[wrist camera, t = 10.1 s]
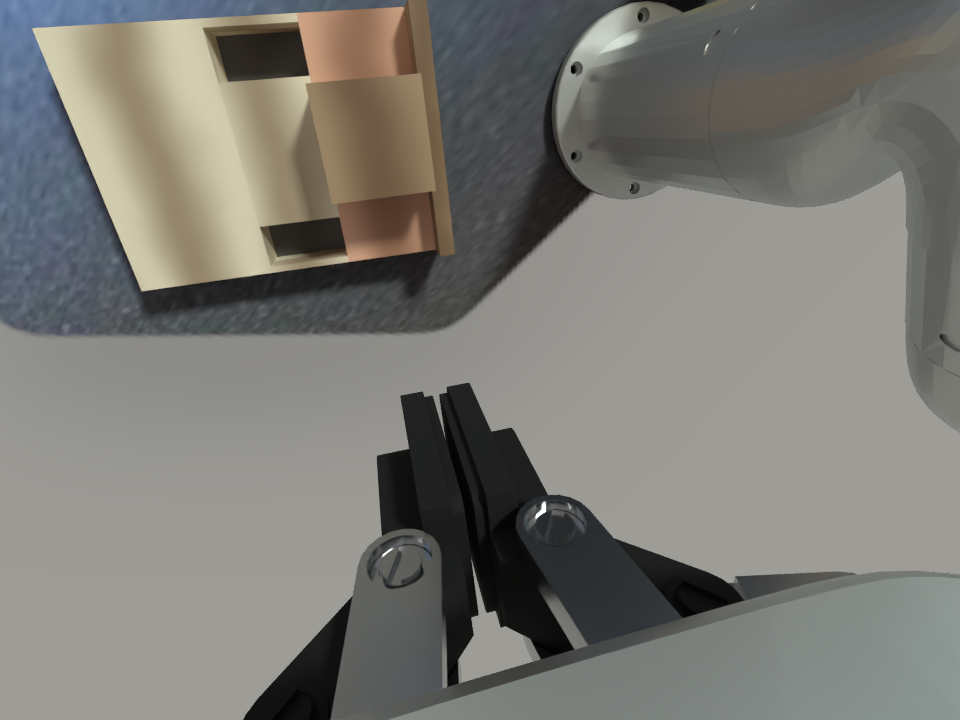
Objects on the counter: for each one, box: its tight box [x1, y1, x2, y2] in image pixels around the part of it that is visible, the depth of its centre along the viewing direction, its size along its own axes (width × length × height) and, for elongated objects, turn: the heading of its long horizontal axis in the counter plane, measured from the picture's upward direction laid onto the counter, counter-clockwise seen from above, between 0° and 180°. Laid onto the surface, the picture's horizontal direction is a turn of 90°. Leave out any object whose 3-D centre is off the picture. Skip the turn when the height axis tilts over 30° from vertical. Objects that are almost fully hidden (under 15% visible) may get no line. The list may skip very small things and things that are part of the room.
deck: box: [32, 0, 455, 291], centre depth 30 cm, size 20×14×5 cm
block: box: [305, 73, 436, 204], centre depth 28 cm, size 6×6×4 cm
